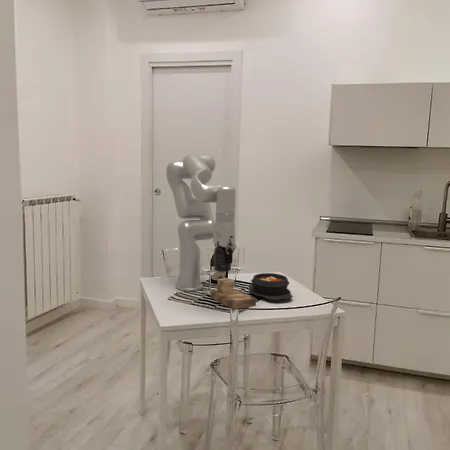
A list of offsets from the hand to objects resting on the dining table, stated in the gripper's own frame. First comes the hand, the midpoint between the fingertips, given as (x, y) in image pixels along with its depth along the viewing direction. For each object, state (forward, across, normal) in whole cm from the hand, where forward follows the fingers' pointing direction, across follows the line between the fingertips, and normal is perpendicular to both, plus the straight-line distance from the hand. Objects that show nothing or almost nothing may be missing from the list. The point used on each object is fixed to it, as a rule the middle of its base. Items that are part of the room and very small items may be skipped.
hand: (223, 261), depth 188 cm
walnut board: (+19, -4, +8) cm, 22 cm away
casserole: (+20, -5, +28) cm, 35 cm away
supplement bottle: (+4, 0, 0) cm, 4 cm away
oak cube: (+16, -11, +8) cm, 21 cm away
